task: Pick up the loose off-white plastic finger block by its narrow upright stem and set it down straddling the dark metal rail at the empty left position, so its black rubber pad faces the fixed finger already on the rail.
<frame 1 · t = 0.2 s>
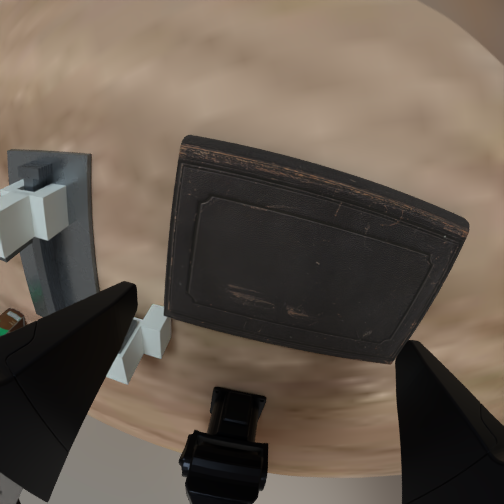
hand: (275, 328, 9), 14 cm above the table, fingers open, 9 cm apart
hardcover book: (311, 260, 24), on the table
food container: (13, 321, 35), on the table
fixed finger: (43, 201, 23), resting on rail
rail: (53, 251, 27), on the table
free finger: (141, 314, 29), on the table
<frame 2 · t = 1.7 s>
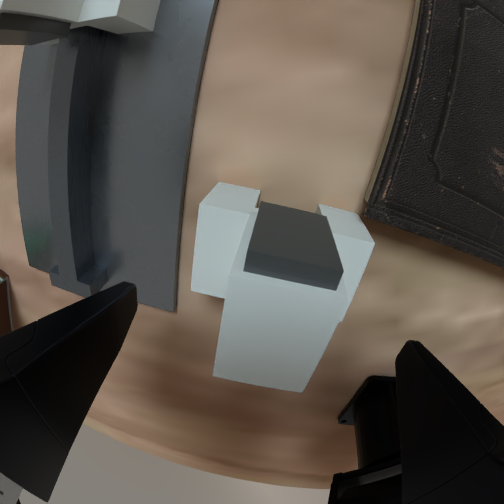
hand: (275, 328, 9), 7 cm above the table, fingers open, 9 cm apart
fixed finger: (102, 3, 9), resting on rail
rail: (90, 108, 12), on the table
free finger: (280, 234, 15), on the table
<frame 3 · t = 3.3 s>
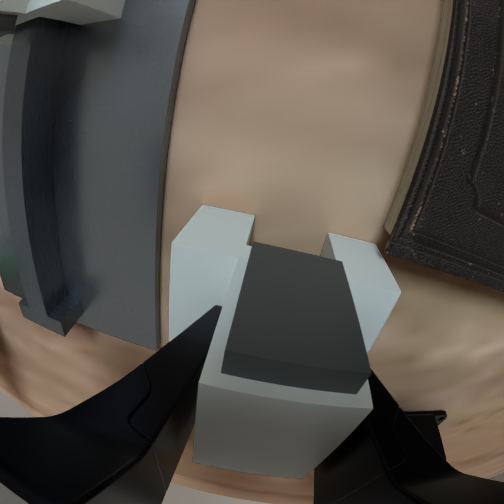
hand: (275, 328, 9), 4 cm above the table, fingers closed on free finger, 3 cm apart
rail: (53, 115, 10), on the table
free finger: (279, 269, 12), on the table, touching gripper
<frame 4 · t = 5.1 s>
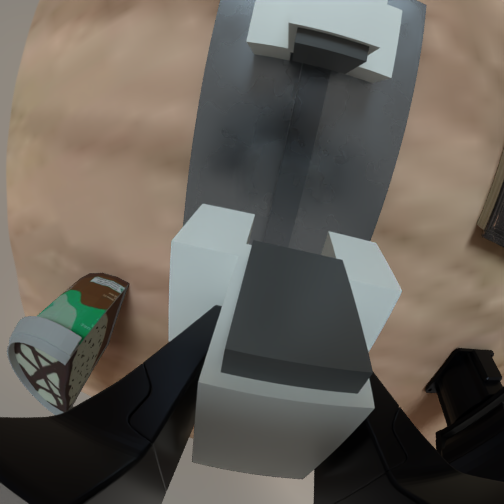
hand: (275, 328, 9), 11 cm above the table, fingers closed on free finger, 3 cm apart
food container: (91, 299, 24), on the table
fixed finger: (320, 35, 13), resting on rail
rail: (299, 130, 16), on the table
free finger: (280, 268, 12), point 7 cm above the table, touching gripper
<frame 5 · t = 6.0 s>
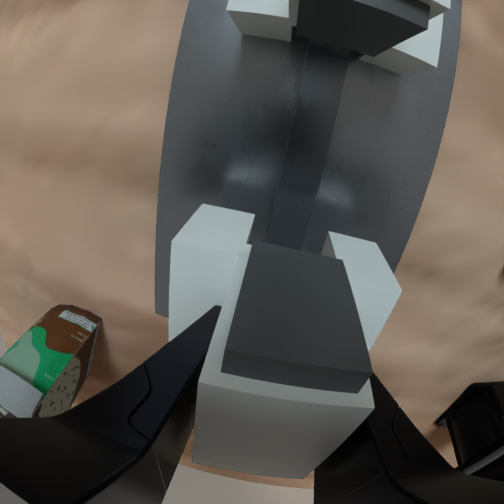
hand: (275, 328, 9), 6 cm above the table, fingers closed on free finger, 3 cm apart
food container: (65, 330, 20), on the table
fixed finger: (332, 10, 9), resting on rail
rail: (304, 137, 12), on the table
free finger: (280, 268, 12), point 3 cm above the table, touching gripper
when the fingers open (6 cm above the table, at t = 6.8 s): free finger drops 1 cm, resting on rail.
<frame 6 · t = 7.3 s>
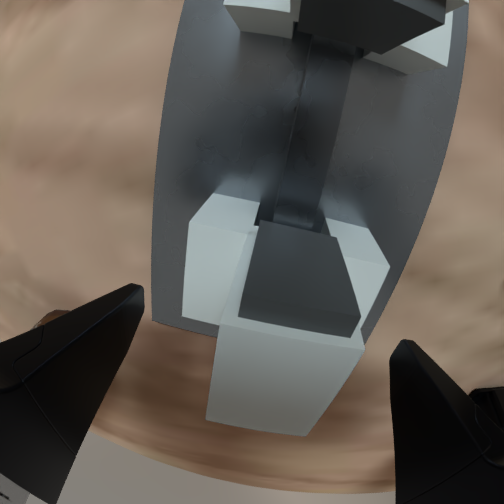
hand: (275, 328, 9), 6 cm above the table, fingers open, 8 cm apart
fixed finger: (336, 6, 8), resting on rail
rail: (306, 139, 11), on the table
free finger: (282, 251, 13), point 1 cm above the table, touching rail
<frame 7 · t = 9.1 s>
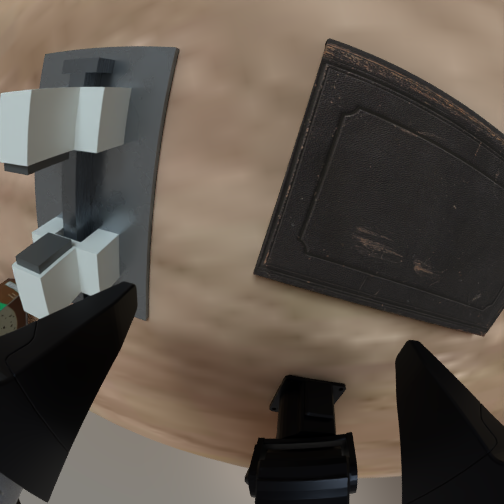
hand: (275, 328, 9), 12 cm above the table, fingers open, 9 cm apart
hardcover book: (433, 210, 19), on the table
food container: (12, 296, 28), on the table
fixed finger: (88, 113, 17), resting on rail
rail: (88, 188, 20), on the table
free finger: (86, 246, 22), point 1 cm above the table, touching rail
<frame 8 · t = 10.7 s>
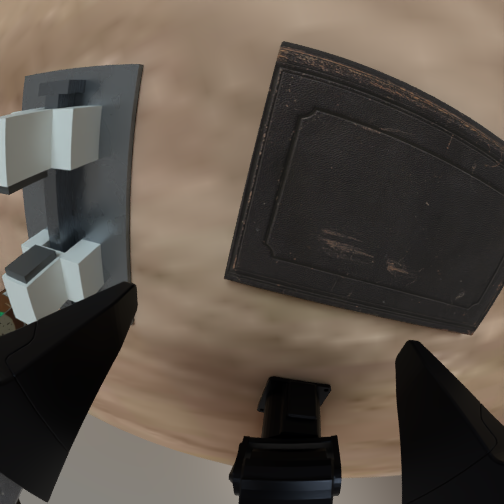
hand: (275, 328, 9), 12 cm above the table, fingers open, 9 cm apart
hardcover book: (408, 208, 19), on the table
food container: (11, 304, 29), on the table
fixed finger: (66, 131, 18), resting on rail
rail: (70, 201, 21), on the table
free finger: (72, 256, 23), point 1 cm above the table, touching rail
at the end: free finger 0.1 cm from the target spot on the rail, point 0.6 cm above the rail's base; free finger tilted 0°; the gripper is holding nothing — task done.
